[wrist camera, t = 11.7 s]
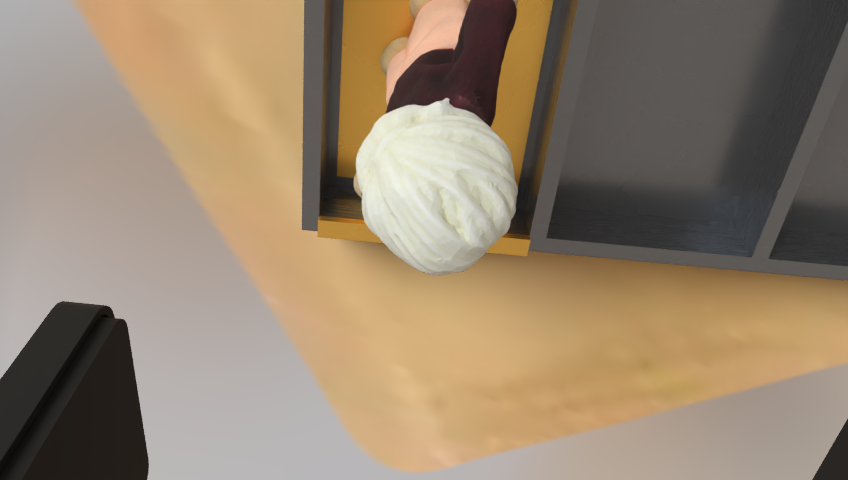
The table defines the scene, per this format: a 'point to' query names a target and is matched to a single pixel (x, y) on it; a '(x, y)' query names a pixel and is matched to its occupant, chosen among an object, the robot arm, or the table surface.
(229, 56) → the table surface
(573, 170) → the tray
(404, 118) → the grandmother figurine
